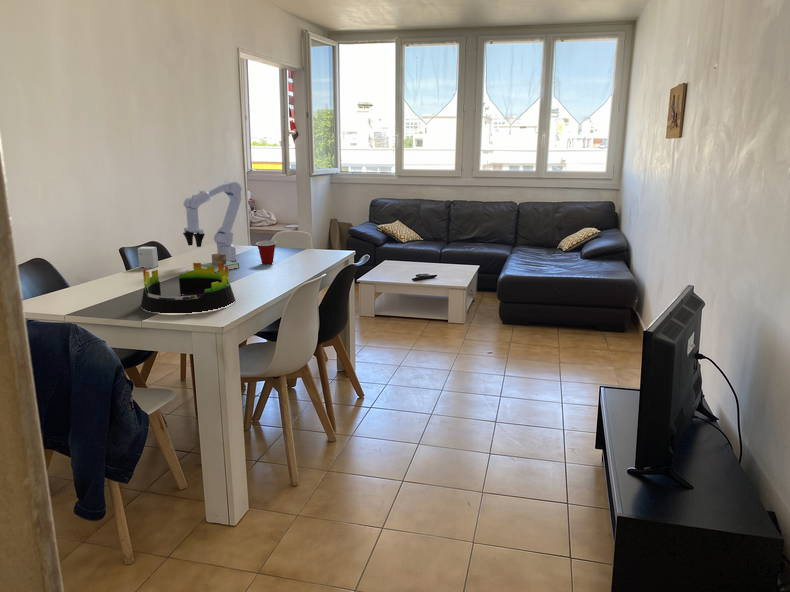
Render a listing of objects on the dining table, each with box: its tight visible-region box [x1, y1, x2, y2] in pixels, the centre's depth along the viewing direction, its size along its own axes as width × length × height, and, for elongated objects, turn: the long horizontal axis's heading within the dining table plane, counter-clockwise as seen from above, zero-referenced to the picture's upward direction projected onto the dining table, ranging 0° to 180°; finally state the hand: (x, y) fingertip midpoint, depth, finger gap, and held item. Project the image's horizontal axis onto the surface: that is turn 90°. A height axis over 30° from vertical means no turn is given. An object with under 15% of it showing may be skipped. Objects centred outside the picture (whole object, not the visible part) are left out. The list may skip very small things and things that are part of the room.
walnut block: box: [211, 253, 226, 265], centre depth 319 cm, size 5×5×5 cm
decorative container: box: [140, 262, 236, 313], centre depth 249 cm, size 37×37×15 cm
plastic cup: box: [255, 240, 277, 265], centre depth 333 cm, size 11×11×12 cm
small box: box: [137, 246, 159, 269], centre depth 322 cm, size 8×6×10 cm
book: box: [201, 261, 240, 273], centre depth 320 cm, size 16×12×3 cm
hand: (194, 246), depth 326 cm, fingers open, 7 cm apart
